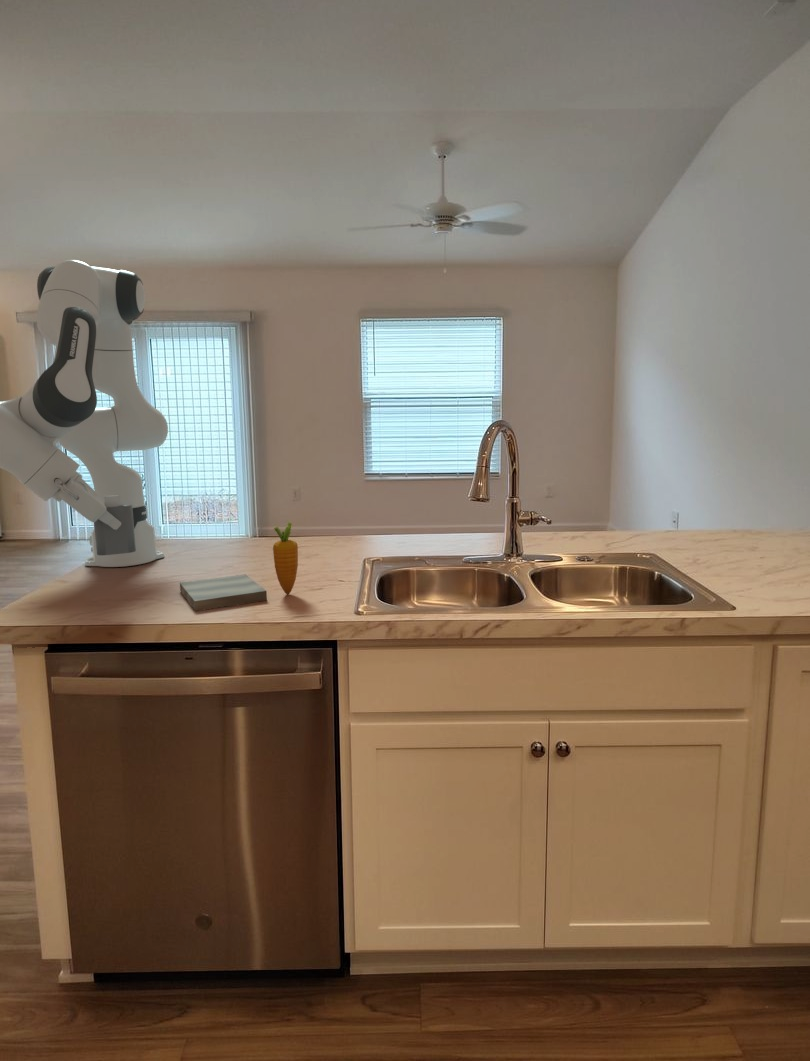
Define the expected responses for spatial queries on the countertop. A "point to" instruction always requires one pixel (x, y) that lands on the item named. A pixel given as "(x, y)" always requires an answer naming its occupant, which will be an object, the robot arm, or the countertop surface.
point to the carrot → (285, 559)
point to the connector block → (113, 539)
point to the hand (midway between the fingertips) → (117, 524)
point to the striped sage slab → (222, 592)
